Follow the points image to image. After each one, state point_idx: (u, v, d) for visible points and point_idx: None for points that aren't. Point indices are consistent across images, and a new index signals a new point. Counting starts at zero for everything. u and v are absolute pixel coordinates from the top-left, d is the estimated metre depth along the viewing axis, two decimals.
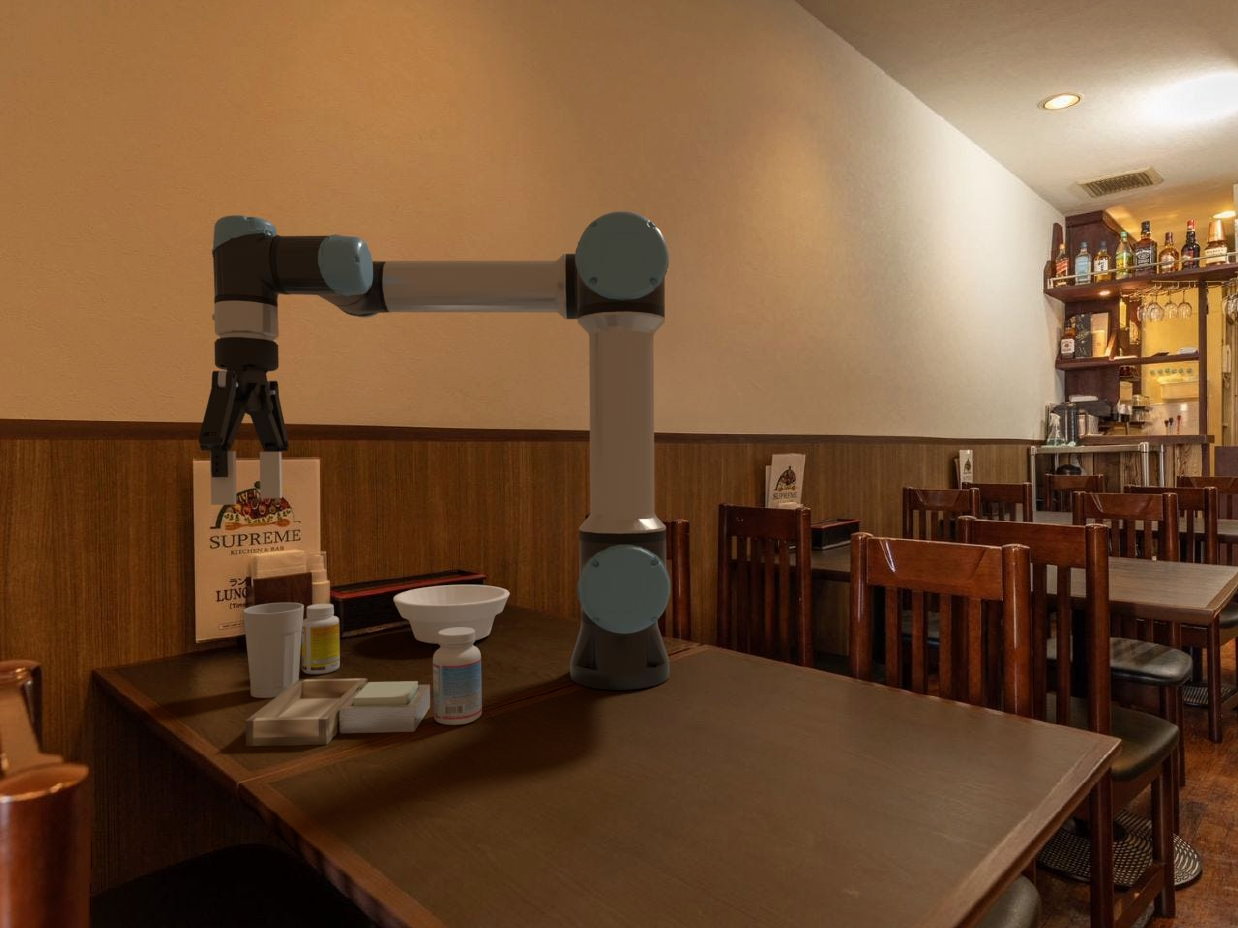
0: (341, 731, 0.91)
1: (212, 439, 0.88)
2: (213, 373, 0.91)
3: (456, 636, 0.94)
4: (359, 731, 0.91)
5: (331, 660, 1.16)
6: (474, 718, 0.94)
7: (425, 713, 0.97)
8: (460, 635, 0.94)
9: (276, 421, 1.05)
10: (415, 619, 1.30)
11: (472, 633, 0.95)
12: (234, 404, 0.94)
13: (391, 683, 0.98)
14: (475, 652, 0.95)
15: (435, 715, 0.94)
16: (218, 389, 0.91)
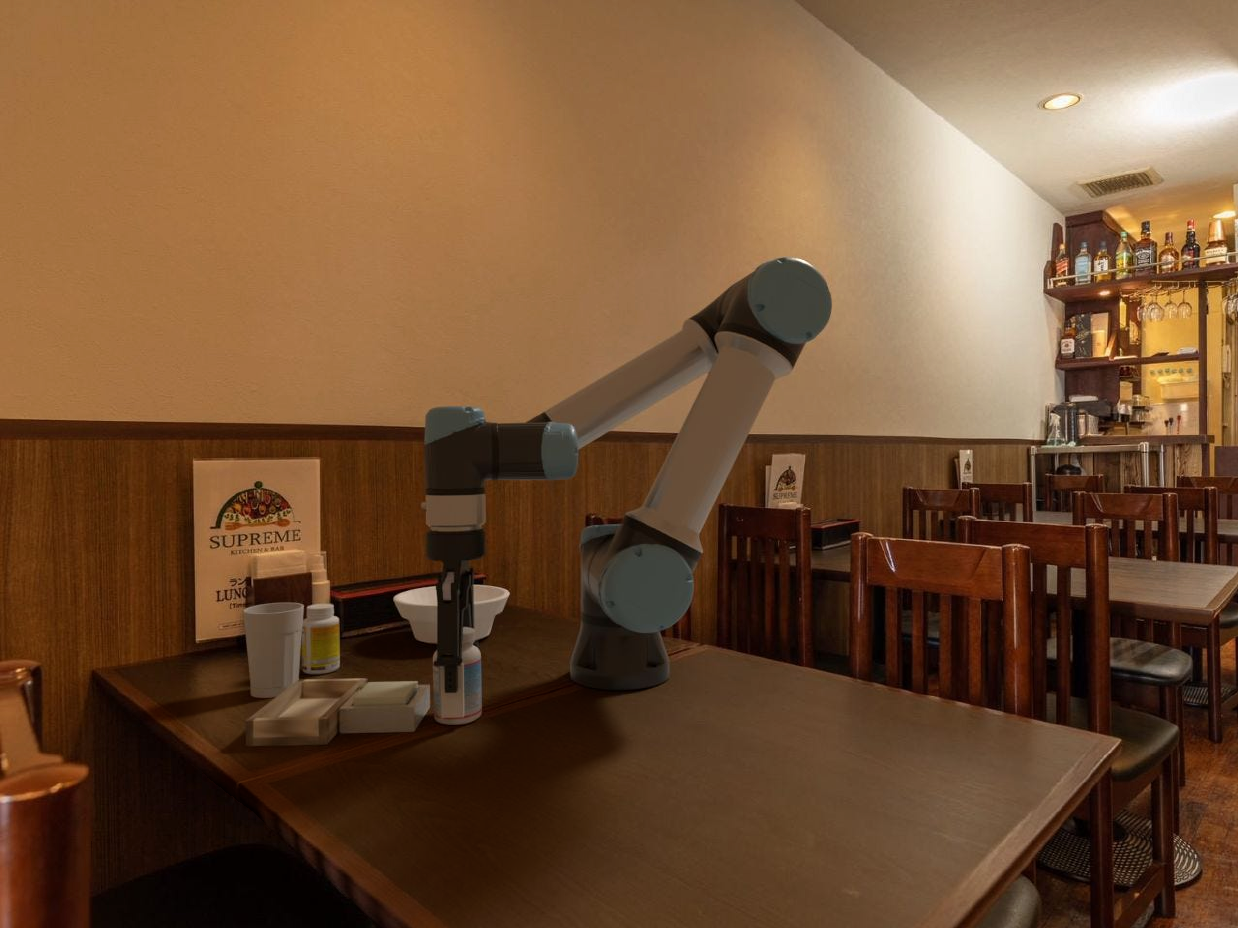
0: (341, 731, 0.91)
1: (450, 660, 0.89)
2: (437, 588, 0.89)
3: None
4: (359, 731, 0.91)
5: (331, 660, 1.16)
6: (474, 718, 0.94)
7: (425, 713, 0.97)
8: None
9: None
10: (415, 619, 1.30)
11: (472, 633, 0.95)
12: None
13: (391, 683, 0.98)
14: (475, 652, 0.95)
15: (435, 715, 0.94)
16: (444, 604, 0.90)
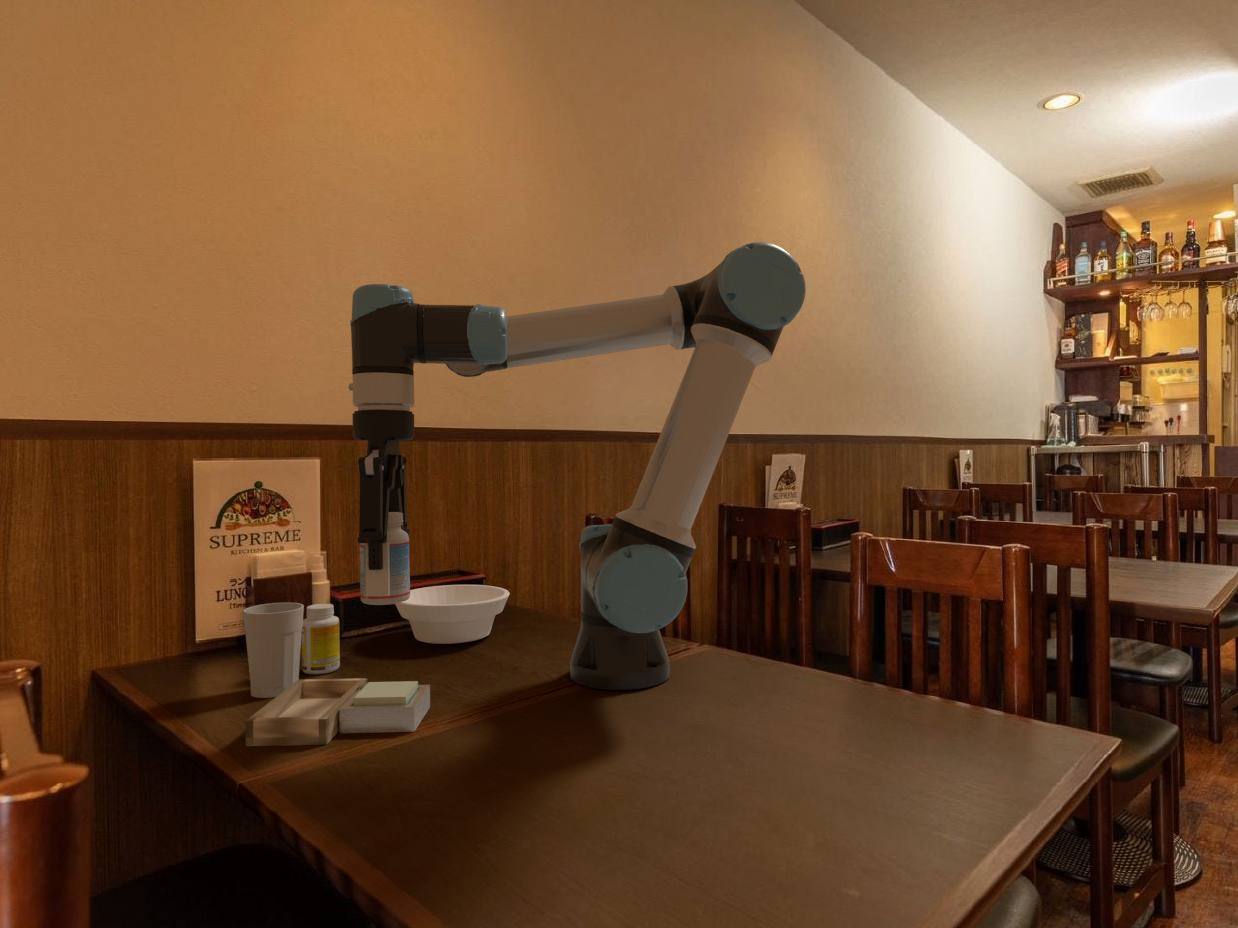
0: (341, 731, 0.91)
1: (372, 534, 0.89)
2: (359, 462, 0.88)
3: None
4: (359, 731, 0.91)
5: (331, 660, 1.16)
6: (400, 599, 0.94)
7: (425, 713, 0.97)
8: None
9: None
10: (415, 619, 1.30)
11: (399, 515, 0.95)
12: None
13: (391, 683, 0.98)
14: (402, 534, 0.94)
15: (361, 596, 0.94)
16: (367, 478, 0.89)
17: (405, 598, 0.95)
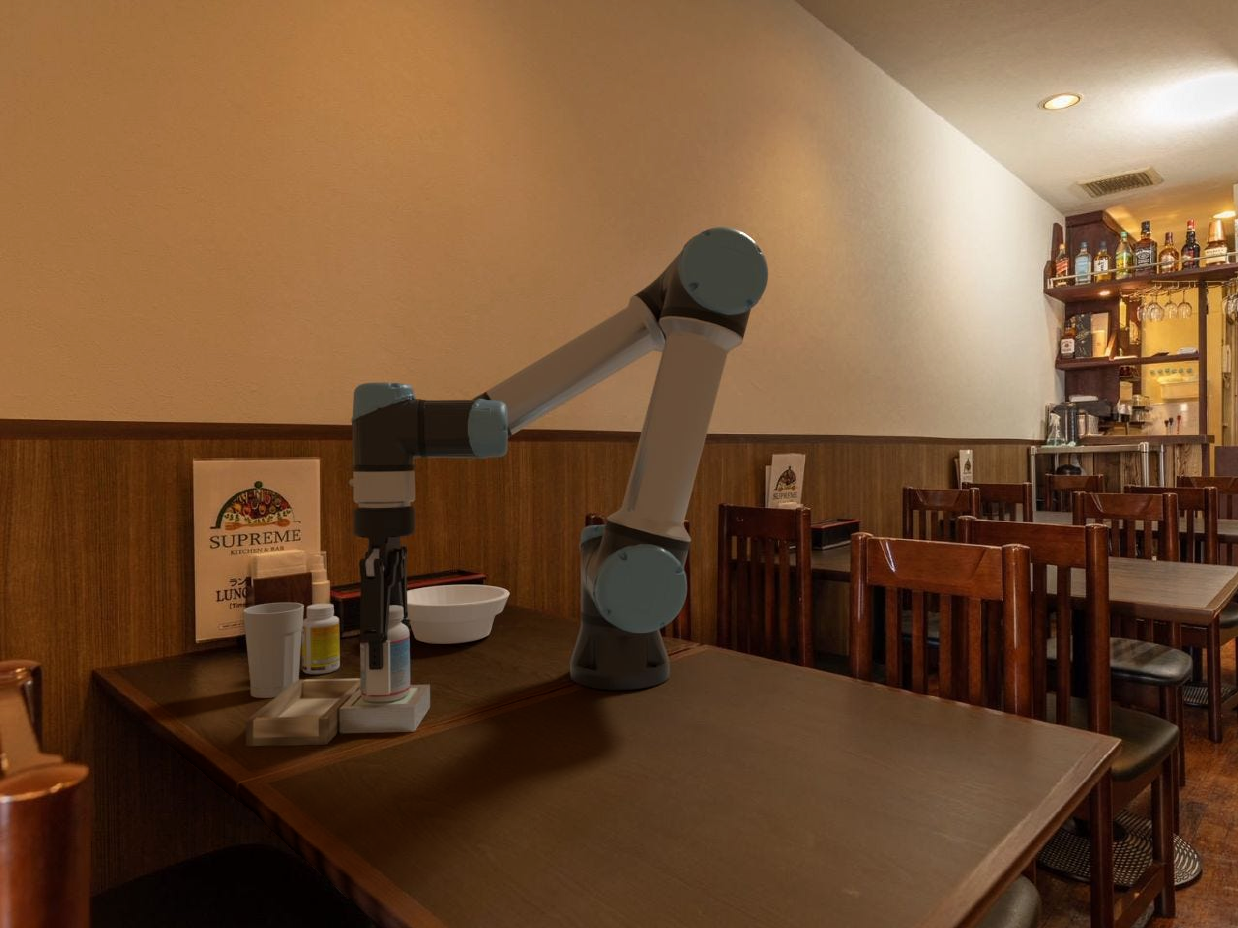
0: (341, 731, 0.91)
1: (373, 636, 0.89)
2: (360, 564, 0.89)
3: None
4: (359, 731, 0.91)
5: (331, 660, 1.16)
6: (401, 696, 0.94)
7: (425, 713, 0.97)
8: None
9: None
10: (415, 619, 1.30)
11: (400, 610, 0.95)
12: None
13: None
14: (402, 630, 0.95)
15: (361, 692, 0.94)
16: (368, 580, 0.89)
17: (405, 694, 0.95)
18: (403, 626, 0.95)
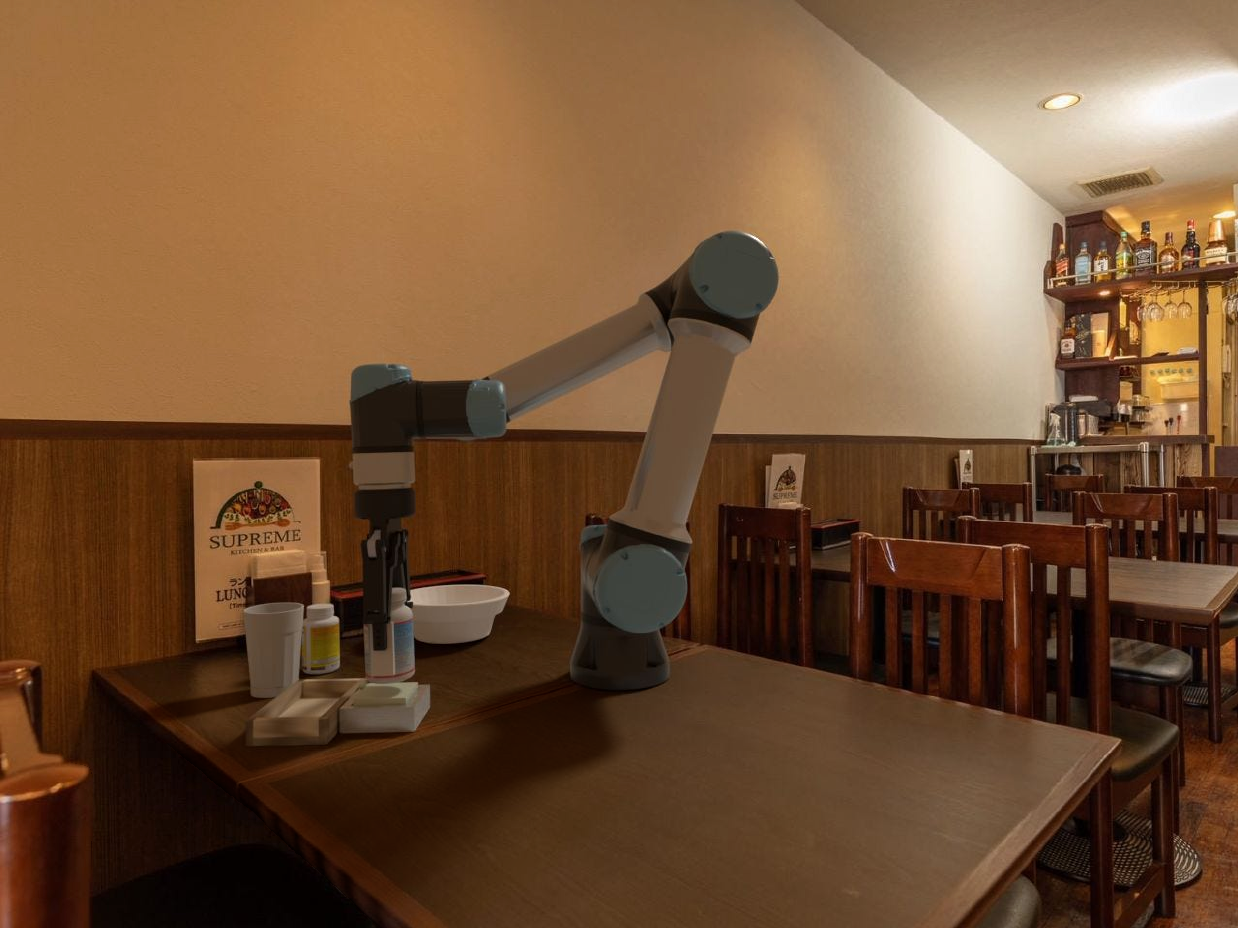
0: (341, 731, 0.91)
1: (376, 617, 0.89)
2: (362, 545, 0.89)
3: None
4: (359, 731, 0.91)
5: (331, 660, 1.16)
6: (405, 677, 0.94)
7: (425, 713, 0.97)
8: None
9: None
10: (415, 619, 1.30)
11: (402, 592, 0.95)
12: None
13: (391, 684, 0.98)
14: (406, 611, 0.95)
15: (366, 675, 0.94)
16: (370, 560, 0.89)
17: (410, 675, 0.95)
18: (406, 608, 0.95)
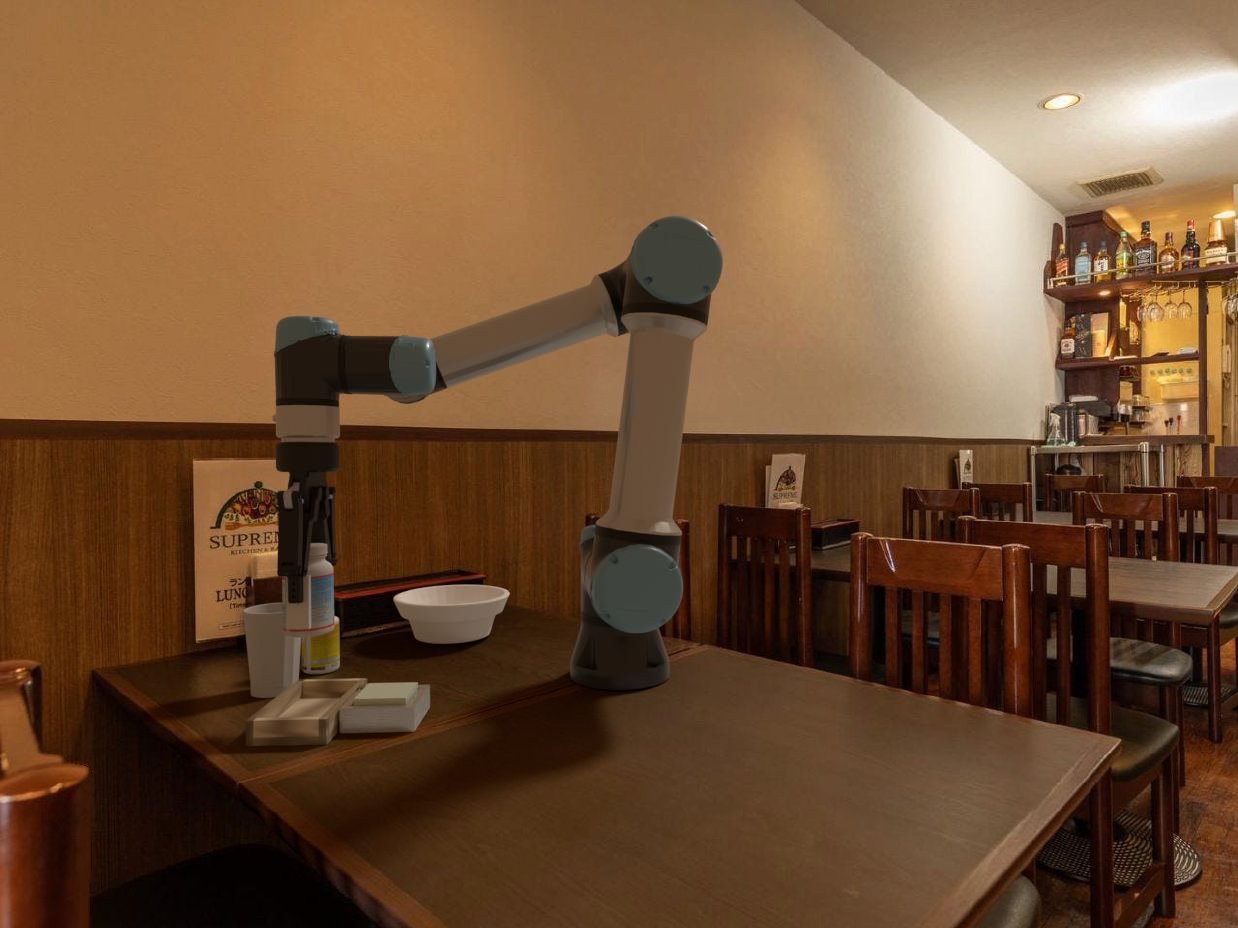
0: (341, 731, 0.91)
1: (290, 568, 0.88)
2: (278, 496, 0.88)
3: None
4: (359, 731, 0.91)
5: (331, 660, 1.16)
6: (322, 632, 0.93)
7: (425, 713, 0.97)
8: None
9: (328, 528, 1.00)
10: (415, 619, 1.30)
11: (322, 547, 0.94)
12: None
13: (391, 684, 0.98)
14: (325, 566, 0.94)
15: (283, 628, 0.93)
16: (286, 512, 0.89)
17: (328, 630, 0.94)
18: (326, 563, 0.95)
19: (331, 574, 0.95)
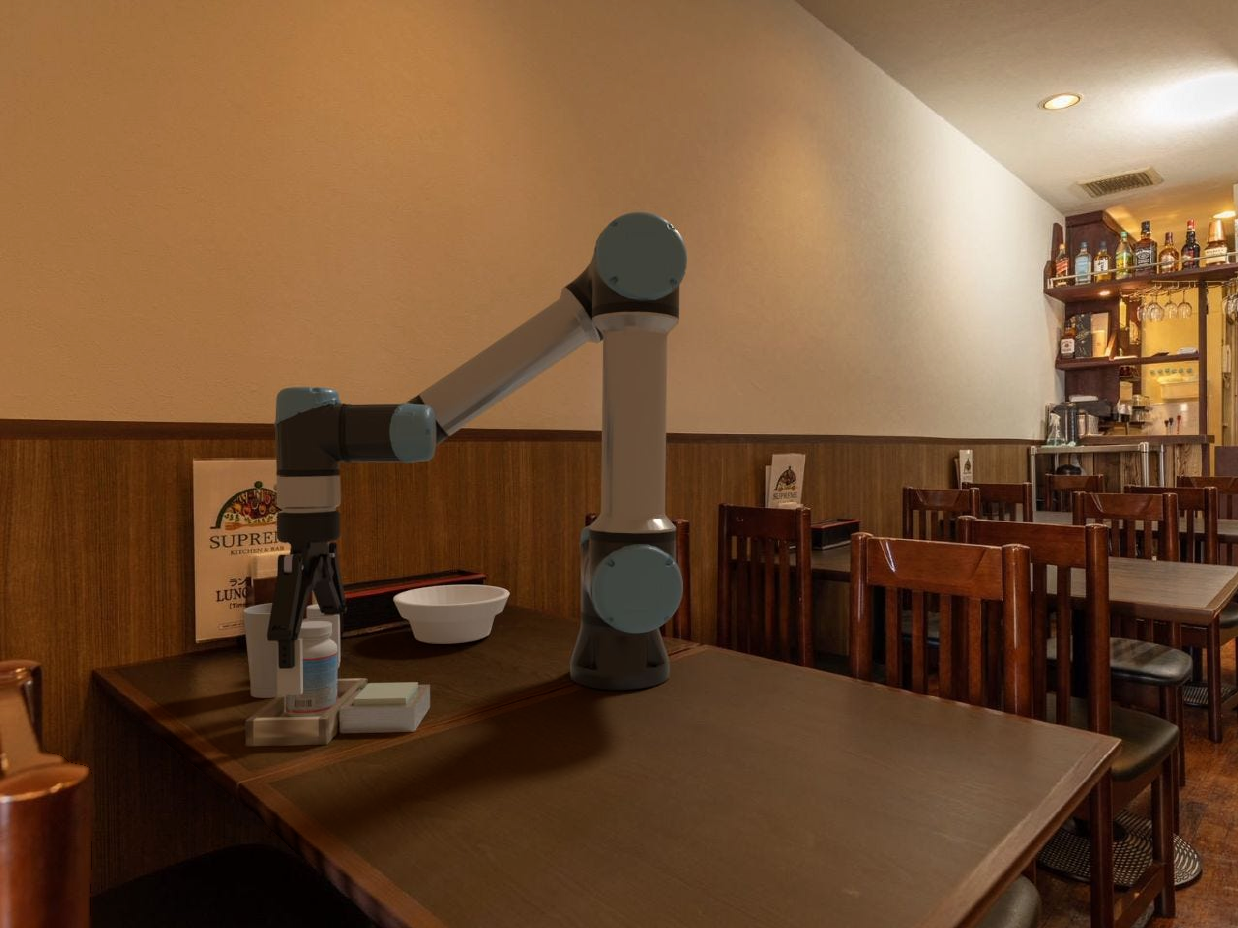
0: (341, 731, 0.91)
1: (281, 633, 0.85)
2: (279, 558, 0.88)
3: (308, 629, 0.93)
4: (359, 731, 0.91)
5: None
6: None
7: (425, 713, 0.97)
8: (313, 628, 0.93)
9: (334, 582, 1.02)
10: (415, 619, 1.30)
11: (327, 627, 0.95)
12: None
13: (391, 684, 0.98)
14: (329, 646, 0.94)
15: (286, 708, 0.94)
16: (284, 575, 0.88)
17: None
18: (331, 642, 0.95)
19: (335, 654, 0.95)
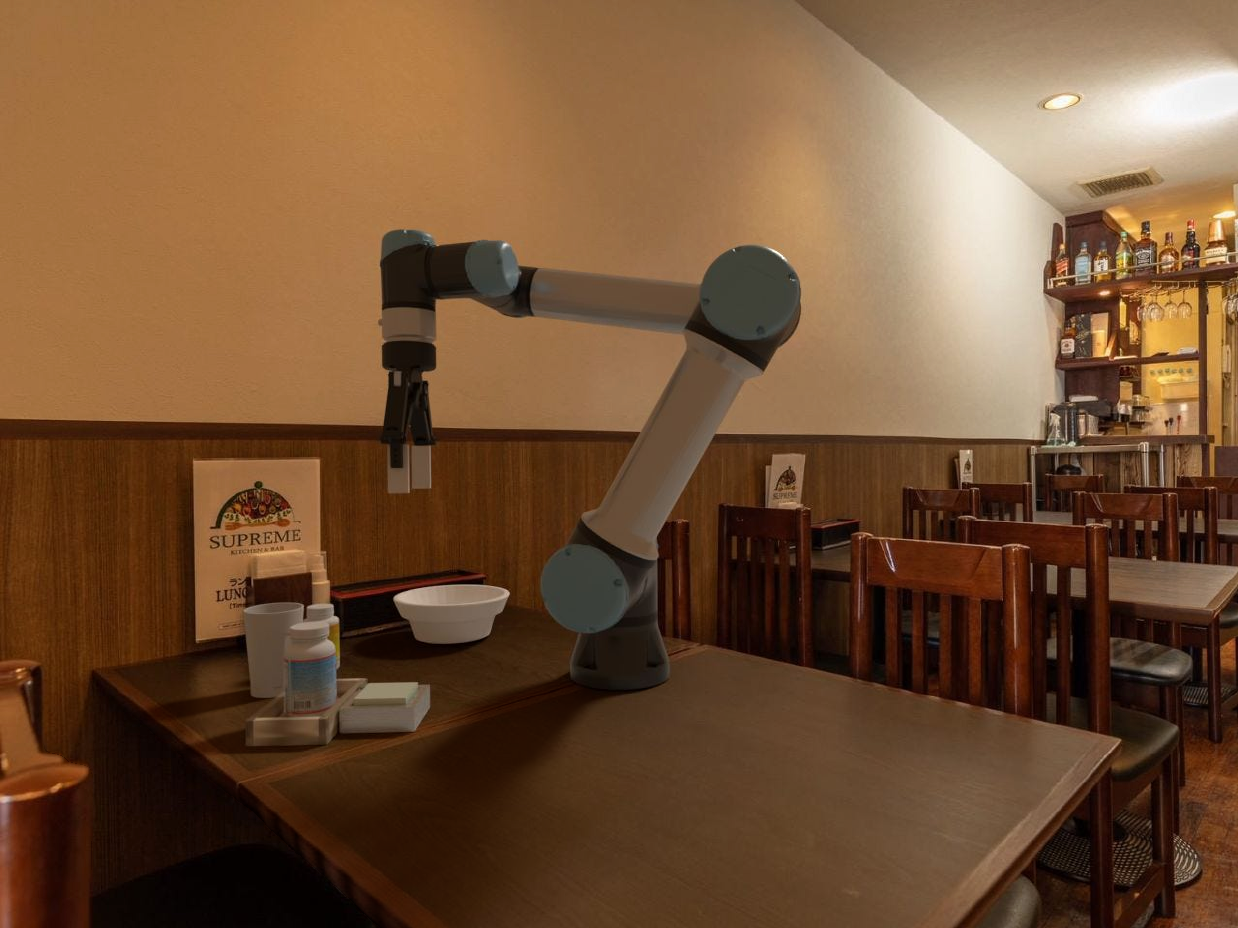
0: (341, 731, 0.91)
1: (394, 433, 0.97)
2: (389, 373, 1.00)
3: (305, 630, 0.93)
4: (359, 731, 0.91)
5: None
6: None
7: (425, 713, 0.97)
8: (310, 629, 0.93)
9: None
10: (415, 619, 1.30)
11: (324, 627, 0.94)
12: None
13: (391, 684, 0.98)
14: (327, 647, 0.94)
15: None
16: (394, 388, 1.00)
17: None
18: (328, 643, 0.95)
19: (333, 654, 0.95)
